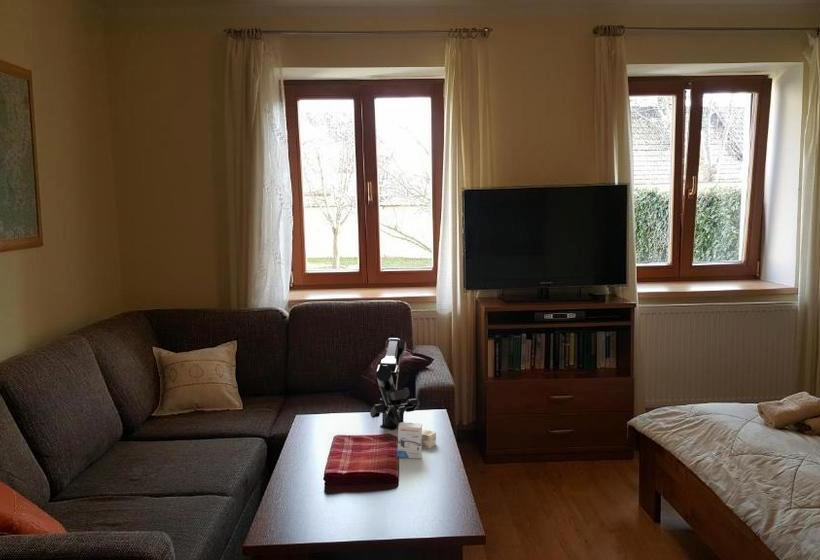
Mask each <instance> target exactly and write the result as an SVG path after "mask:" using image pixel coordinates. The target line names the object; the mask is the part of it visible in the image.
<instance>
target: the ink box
mask: <svg viewBox="0 0 820 560" xmlns="http://www.w3.org/2000/svg"><path fill="white" fill-rule="evenodd" d="M397 429H398V431H397V457H398V456H399V457H398V458H401V459H403V458H406V459H415V460H416V459H421V458H422V448H423V447H422V431H423V424H422V423H418V422H407V421H405V422H404V421H403V422H401V423H399V426H398V427H397Z"/></svg>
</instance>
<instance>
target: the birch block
mask: <svg viewBox="0 0 820 560" xmlns="http://www.w3.org/2000/svg"><path fill="white" fill-rule="evenodd" d="M435 444H436V445H437V432H436V431H432V430H428V429H424V430H423V429H422V447H421V448H425V447H426V449H429V448H430V449H431V448H433V447H434V446H436V445H435ZM432 446H433V447H432Z"/></svg>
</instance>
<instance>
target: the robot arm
mask: <svg viewBox="0 0 820 560" xmlns="http://www.w3.org/2000/svg"><path fill="white" fill-rule="evenodd" d="M385 350H386V353H385V356H384V358H382V359H381V360H380V364H378V365H377V369H376V375H375V376H376V379H377V382H378V386H379V387H378V388H379V391H380V392H381V398H379V403H377V404H374V405H373V407H372V408H371V410H370V417H371V418H372V419H373V418H374V419H375V418H379V417H380V415H381V414H382V418H381V419H382V421H381V422H382V423H381V425H380V428H383V429H388V430H391V431H392V430H396V429H398V426H399V423H401V422H404V414H405V412H406V413H410V412H415V410H416V409H417V408H418V407H419V405H420V402H419V400H418V399H417V398H409V399H407V397H409V396H410V395H411V394H410V390H409V387H403V388H401V390H399V389H398V381H399V374H400V362H401V360H402V359H403V357H404V356H405V352H406V351H407V342H406V341H405V340H403V339H400V338H398V337H389V338H388V339H387V340H385ZM404 399H407V400H406V402H404Z"/></svg>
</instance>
